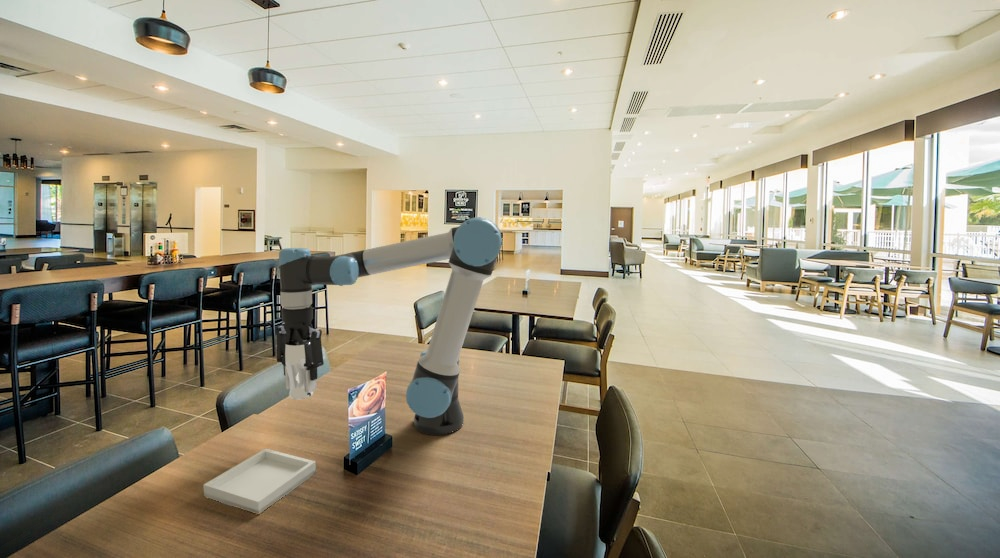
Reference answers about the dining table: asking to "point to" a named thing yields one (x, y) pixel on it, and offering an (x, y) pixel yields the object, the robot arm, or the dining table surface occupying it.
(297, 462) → the tray
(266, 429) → the dining table surface
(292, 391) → the beer glass
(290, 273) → the robot arm
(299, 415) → the dining table surface
